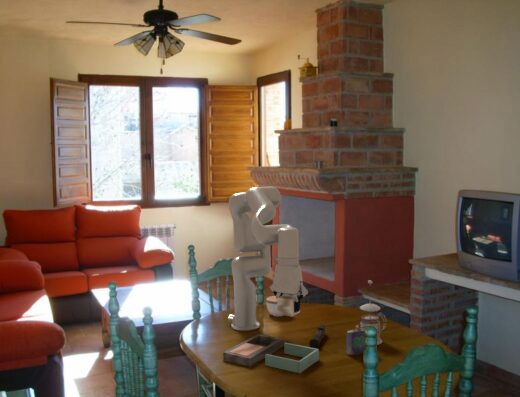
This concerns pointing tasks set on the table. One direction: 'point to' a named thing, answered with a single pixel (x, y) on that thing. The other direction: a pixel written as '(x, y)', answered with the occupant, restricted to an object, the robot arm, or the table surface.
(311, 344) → the hand tool
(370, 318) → the french press
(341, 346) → the table surface
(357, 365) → the table surface
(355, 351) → the flask
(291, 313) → the cube
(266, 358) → the teal open tray
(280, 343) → the dark brown shallow tray
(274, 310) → the lidded jar
